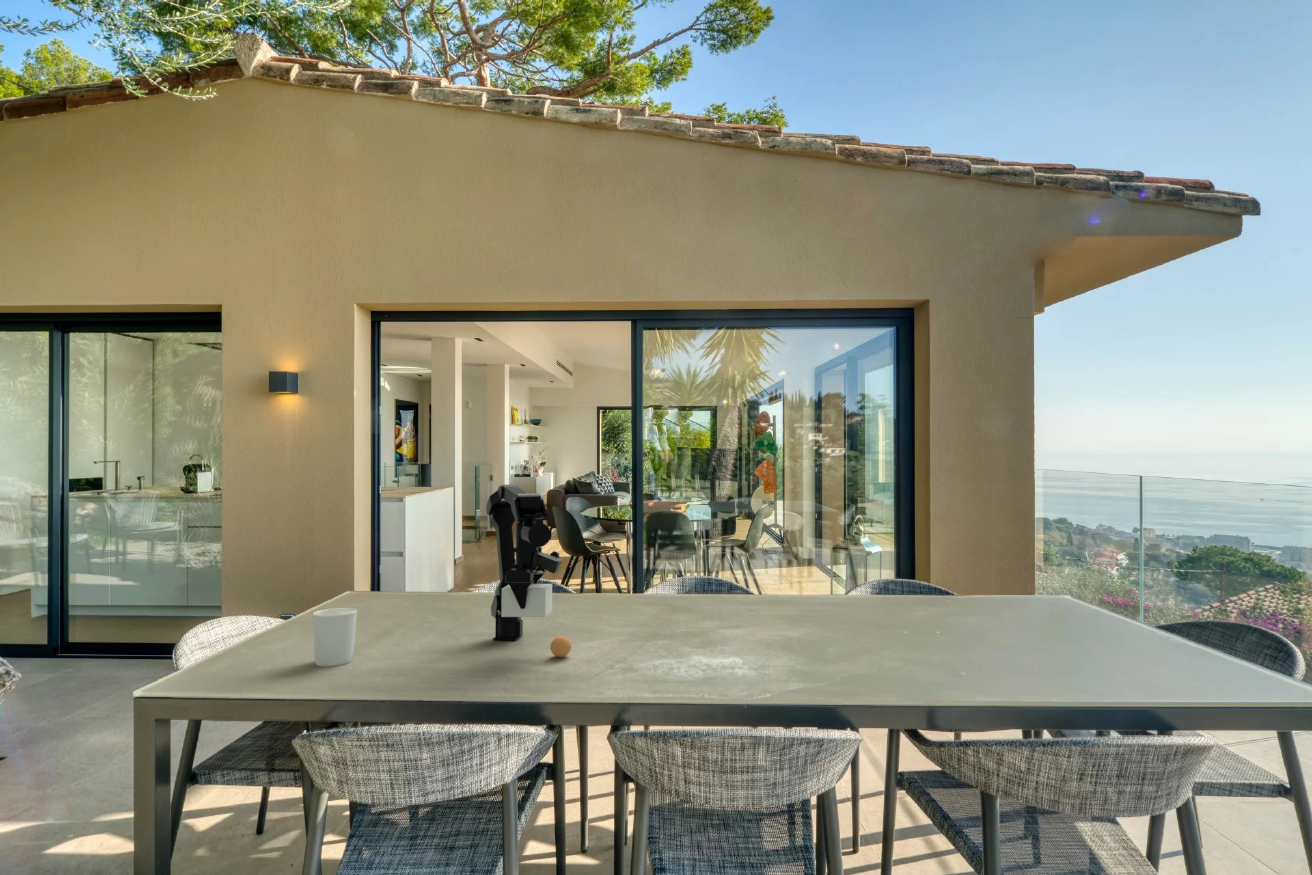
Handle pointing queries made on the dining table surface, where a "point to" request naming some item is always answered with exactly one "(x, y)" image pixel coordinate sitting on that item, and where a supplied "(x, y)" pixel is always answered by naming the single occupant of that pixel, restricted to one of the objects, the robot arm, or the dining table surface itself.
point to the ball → (560, 646)
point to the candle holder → (334, 636)
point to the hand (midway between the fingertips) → (526, 605)
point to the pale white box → (528, 602)
